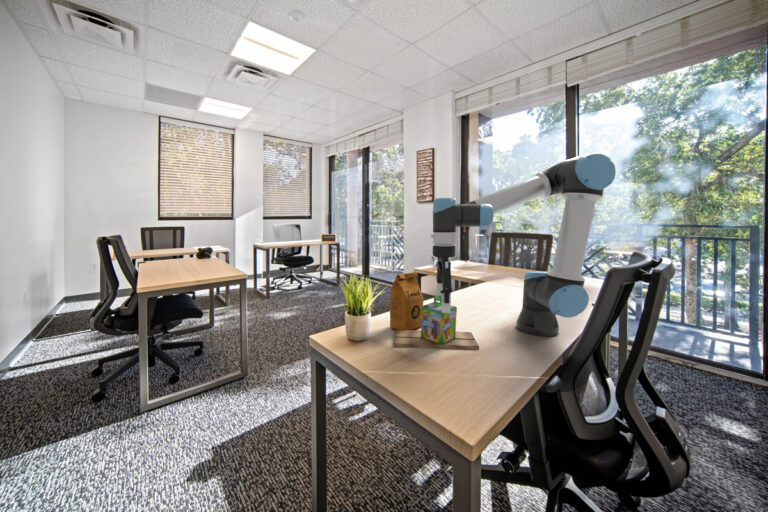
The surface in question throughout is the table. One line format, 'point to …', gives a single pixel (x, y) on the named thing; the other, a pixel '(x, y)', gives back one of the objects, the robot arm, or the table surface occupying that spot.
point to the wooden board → (429, 344)
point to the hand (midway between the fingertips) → (443, 306)
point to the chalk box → (438, 322)
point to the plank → (418, 334)
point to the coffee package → (405, 302)
